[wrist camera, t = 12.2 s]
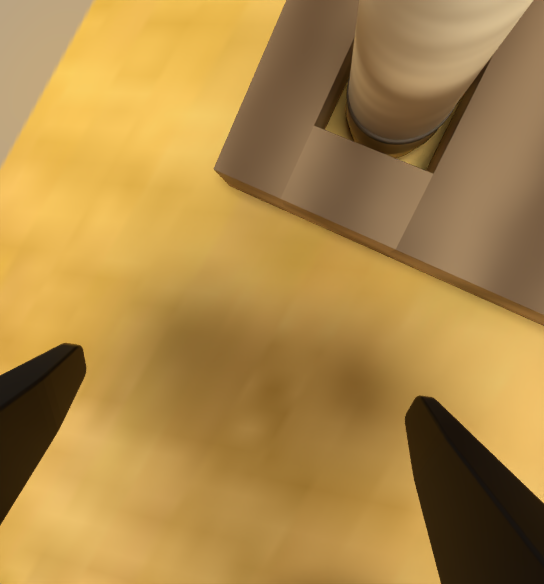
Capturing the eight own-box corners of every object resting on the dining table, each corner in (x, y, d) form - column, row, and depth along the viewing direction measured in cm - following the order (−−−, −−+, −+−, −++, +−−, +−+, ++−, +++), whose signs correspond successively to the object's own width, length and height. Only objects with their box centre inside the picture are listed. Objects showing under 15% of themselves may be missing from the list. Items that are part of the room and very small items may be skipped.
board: (744, 93, 16) (841, 50, 13) (595, 348, 17) (652, 362, 14) (330, -43, 19) (331, -104, 16) (229, 185, 20) (213, 169, 17)
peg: (458, 119, 18) (796, -291, 5) (383, 184, 19) (515, -32, 6) (395, 53, 18) (560, -479, 6) (324, 119, 19) (326, -215, 6)
